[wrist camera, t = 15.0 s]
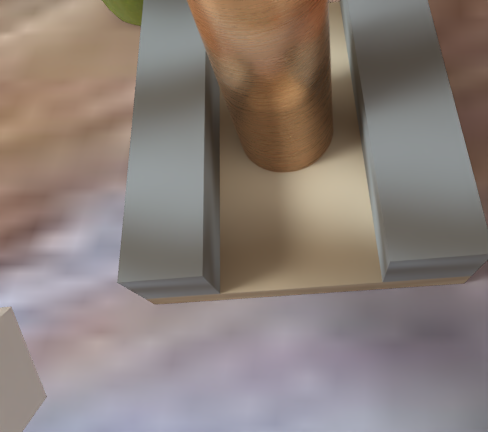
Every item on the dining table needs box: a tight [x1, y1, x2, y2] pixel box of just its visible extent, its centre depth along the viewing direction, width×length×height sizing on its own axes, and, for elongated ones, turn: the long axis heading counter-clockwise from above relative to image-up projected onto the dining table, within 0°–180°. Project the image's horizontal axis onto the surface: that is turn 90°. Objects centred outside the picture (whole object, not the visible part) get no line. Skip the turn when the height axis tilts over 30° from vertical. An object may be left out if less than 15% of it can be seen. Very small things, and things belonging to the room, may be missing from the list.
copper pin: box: [187, 0, 333, 172], centre depth 14 cm, size 4×4×12 cm
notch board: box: [117, 0, 488, 304], centre depth 19 cm, size 14×12×4 cm
